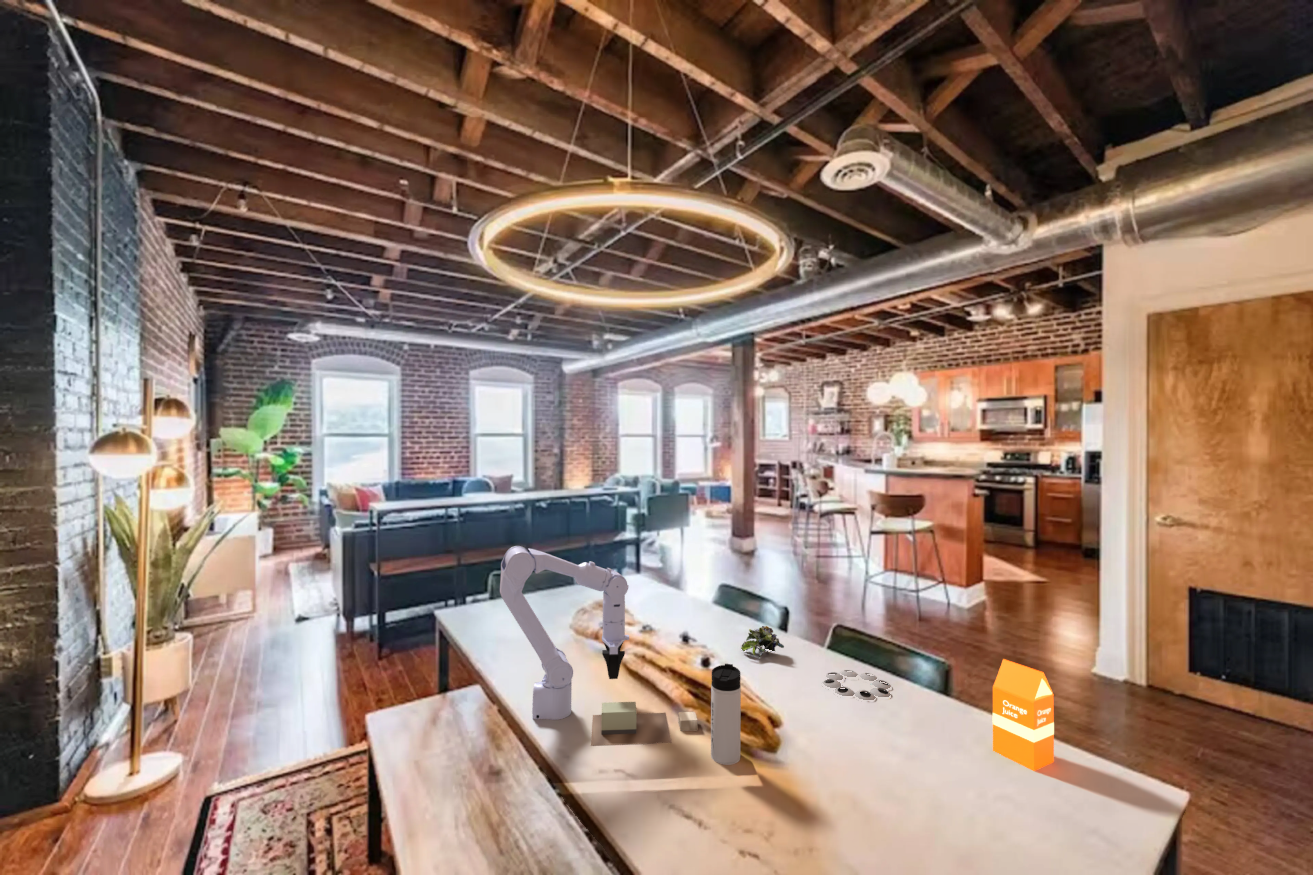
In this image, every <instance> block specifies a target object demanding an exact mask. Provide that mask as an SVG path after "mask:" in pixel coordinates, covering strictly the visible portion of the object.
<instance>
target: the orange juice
mask: <svg viewBox="0 0 1313 875" xmlns="http://www.w3.org/2000/svg"><path fill="white" fill-rule="evenodd" d="M1054 696H1055V695H1054V693H1053V690H1052V688H1051V686H1050V684H1049V681H1048V679H1047V677H1046V674H1045V673H1044V671H1041V670H1038V669H1036V668H1031V667H1029V666H1027V665H1023V664H1020V663H1017V662H1014V661H1011V660H1008V659H1005V658H1002V661H1001V665H1000V667H999V669H998V673H997V675H996V678H995V680H994V682H993V685H992V752H994V751H995V752H994V753H996V752H997V753H996V754H998V753H999V754H998V755H1000V754H1001V756H1002V757H1005V758H1007V759H1008V760H1010V761H1012V762H1014V763H1017V764H1019V765H1021V766H1023V767H1024V768H1027V769H1029V770H1031V771H1033V772H1036V771H1038V770H1040V769H1041V768H1045V767H1046V766H1048V765H1051V764H1052V763H1053V764H1054V762H1055V757H1054V756H1055V750H1054V747H1055V744H1054V743H1055V736H1054V735H1055V722H1054V720H1055V719H1054V717H1055V714H1054V711H1055V710H1054V705H1055V704H1054V703H1055V702H1054Z"/></svg>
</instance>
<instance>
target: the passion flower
mask: <svg viewBox="0 0 1313 875" xmlns="http://www.w3.org/2000/svg"><path fill="white" fill-rule="evenodd" d="M777 636H778V635H777V634H776V633H774V630H773V628H772V627H769V626H767V625H761V626H760V627H759V628H755V629H754V630H753V629H751V628H749V629H748V636H747V637H746V640H744V641H743V643H742V644H741V647H740V650H741V649H742V650H741V651H743V652H744V651H745V650H747V651H748V650H749V649H752V654H753V656H756V650H758V657H759V656H760V657H761V656H762V654H764V653H765V652H766V650H765V649H769V650H772V651H775V652H776V647H779V648H782V649H784V648H785V646H784V644H782V643H780V638H779V637H778V638H777ZM763 647H764V648H763ZM772 651H771V652H772Z"/></svg>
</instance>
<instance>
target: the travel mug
mask: <svg viewBox="0 0 1313 875" xmlns="http://www.w3.org/2000/svg"><path fill="white" fill-rule="evenodd" d="M710 687H711V688H710V692H711V693H710V694H711V696H710V698H711V700H710V715H711V716H710V756H711V760H713V762H716V763H717V764H719V765H725V766H731V765H735V764H737V763H738V762H740V760H741V724H742V722H741V718H742V717H741V708H742V707H741V706H742V705H741V703H742V702H741V696H742V694H741V691H742V689H741V688H742V686H741V670H740V669H739V668H737V667H735V666H734V664H733V663H732V664H731V663H724V664H722V665H718V666H715V667H714V668H712V670H711V683H710Z"/></svg>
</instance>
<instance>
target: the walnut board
mask: <svg viewBox="0 0 1313 875" xmlns="http://www.w3.org/2000/svg"><path fill="white" fill-rule="evenodd" d="M601 728H602V714H592V722H591V733H590V734H591V737H590V746H591V747H592V746H593V747H596V746H598V747H599V746H601V747H602V746H623V745H625V746H626V745H629V746H630V745H654V744H672V738H671V733H670V727H669V722H668V718H667V713H666V712H649V713H647V712H644V713H641V712H640V713H636V734H608V735H601Z"/></svg>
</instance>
